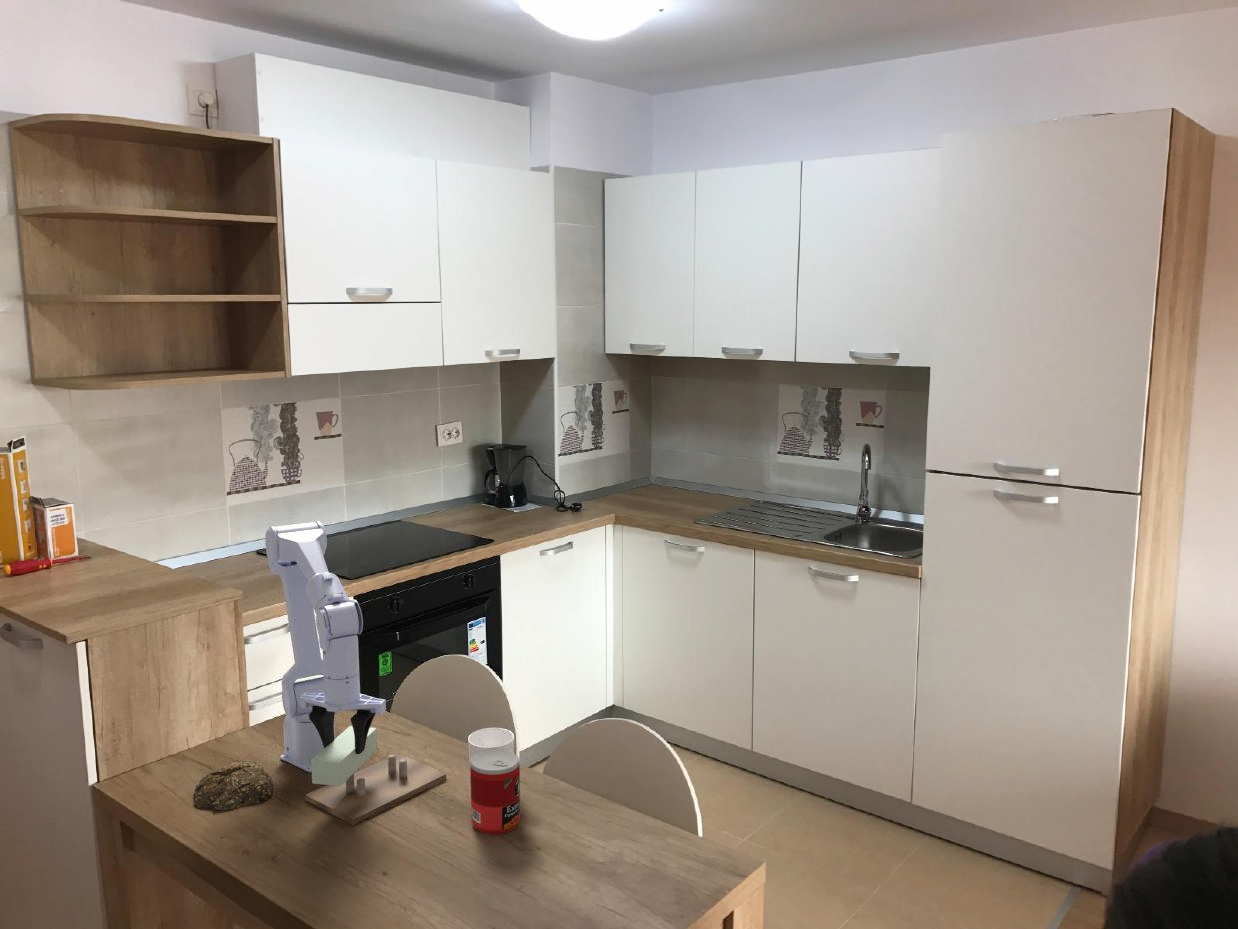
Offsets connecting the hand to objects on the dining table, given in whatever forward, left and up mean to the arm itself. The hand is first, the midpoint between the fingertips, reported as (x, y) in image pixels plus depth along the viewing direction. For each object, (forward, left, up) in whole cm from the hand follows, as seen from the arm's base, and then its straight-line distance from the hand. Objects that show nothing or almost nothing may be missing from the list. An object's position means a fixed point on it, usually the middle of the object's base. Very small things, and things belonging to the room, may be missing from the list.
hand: (344, 750), depth 166 cm
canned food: (+25, +10, -9) cm, 29 cm away
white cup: (+17, +17, -9) cm, 26 cm away
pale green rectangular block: (0, 0, -3) cm, 3 cm away
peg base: (+1, +5, -9) cm, 11 cm away
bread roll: (-17, -11, -10) cm, 23 cm away
